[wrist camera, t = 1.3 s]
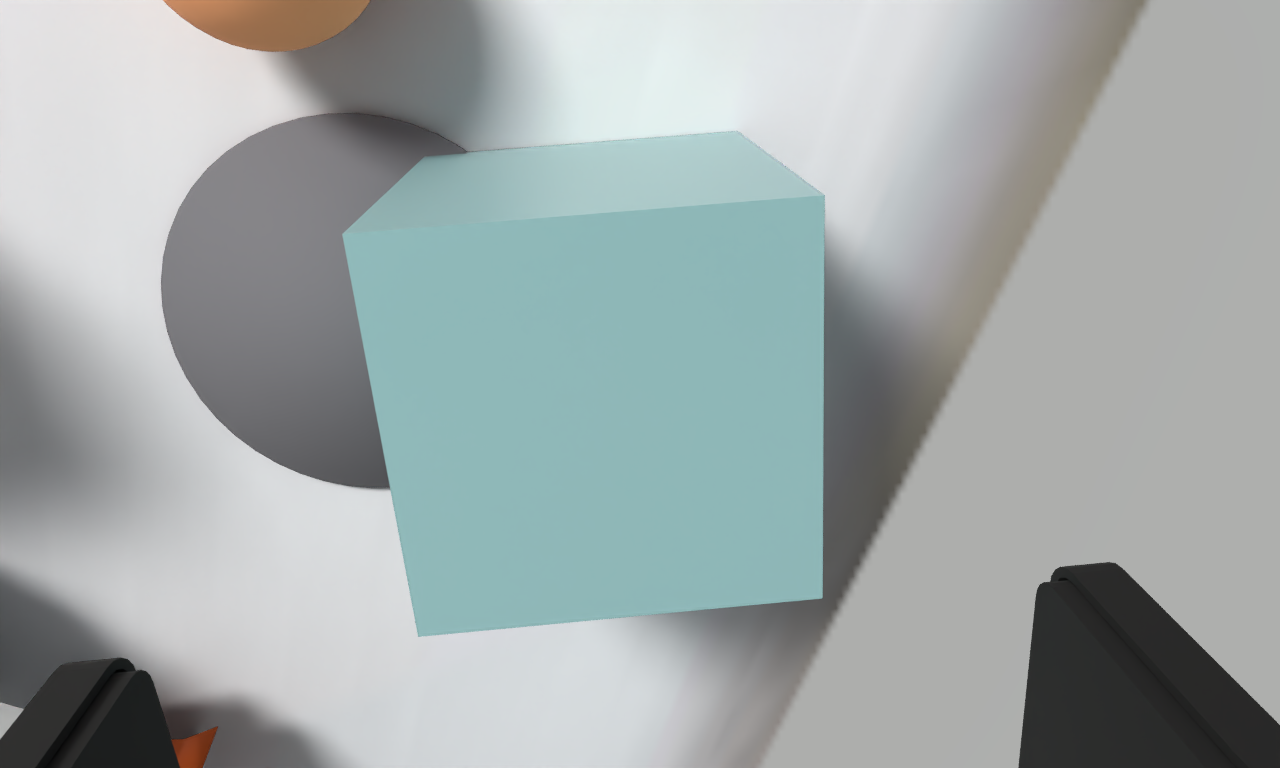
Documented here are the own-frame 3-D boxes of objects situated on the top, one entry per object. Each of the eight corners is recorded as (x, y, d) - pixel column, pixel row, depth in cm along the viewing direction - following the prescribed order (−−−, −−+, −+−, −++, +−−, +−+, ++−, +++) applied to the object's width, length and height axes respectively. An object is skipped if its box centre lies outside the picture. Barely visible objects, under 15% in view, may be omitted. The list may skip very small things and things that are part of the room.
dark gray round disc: (537, 97, 23) (536, 98, 22) (575, 467, 26) (575, 471, 26) (116, 129, 22) (112, 131, 22) (216, 499, 26) (213, 502, 26)
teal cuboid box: (737, 130, 23) (824, 194, 15) (745, 415, 26) (822, 598, 18) (425, 155, 23) (342, 234, 15) (468, 439, 26) (418, 637, 18)
